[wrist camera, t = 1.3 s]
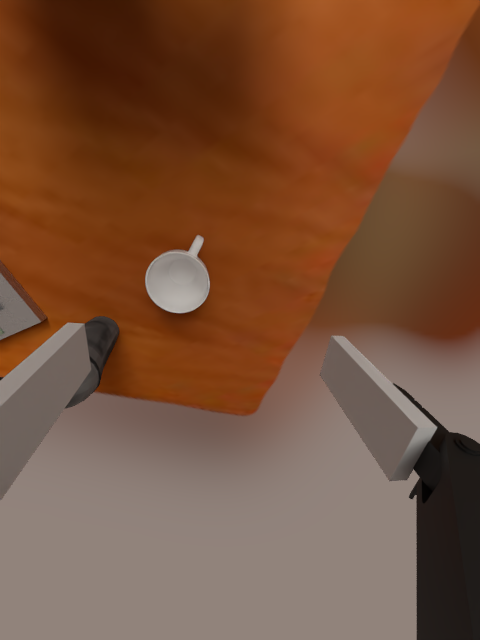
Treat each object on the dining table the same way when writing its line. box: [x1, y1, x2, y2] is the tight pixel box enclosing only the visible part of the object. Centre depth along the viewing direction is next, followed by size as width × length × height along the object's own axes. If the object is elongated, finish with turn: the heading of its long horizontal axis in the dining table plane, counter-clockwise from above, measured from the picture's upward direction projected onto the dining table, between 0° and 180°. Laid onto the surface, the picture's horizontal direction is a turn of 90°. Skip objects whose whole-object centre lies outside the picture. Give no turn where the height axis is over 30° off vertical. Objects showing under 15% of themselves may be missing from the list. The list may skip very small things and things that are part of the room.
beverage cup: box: [64, 316, 119, 409], centre depth 30 cm, size 7×7×20 cm
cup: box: [145, 235, 210, 313], centre depth 34 cm, size 8×10×7 cm
